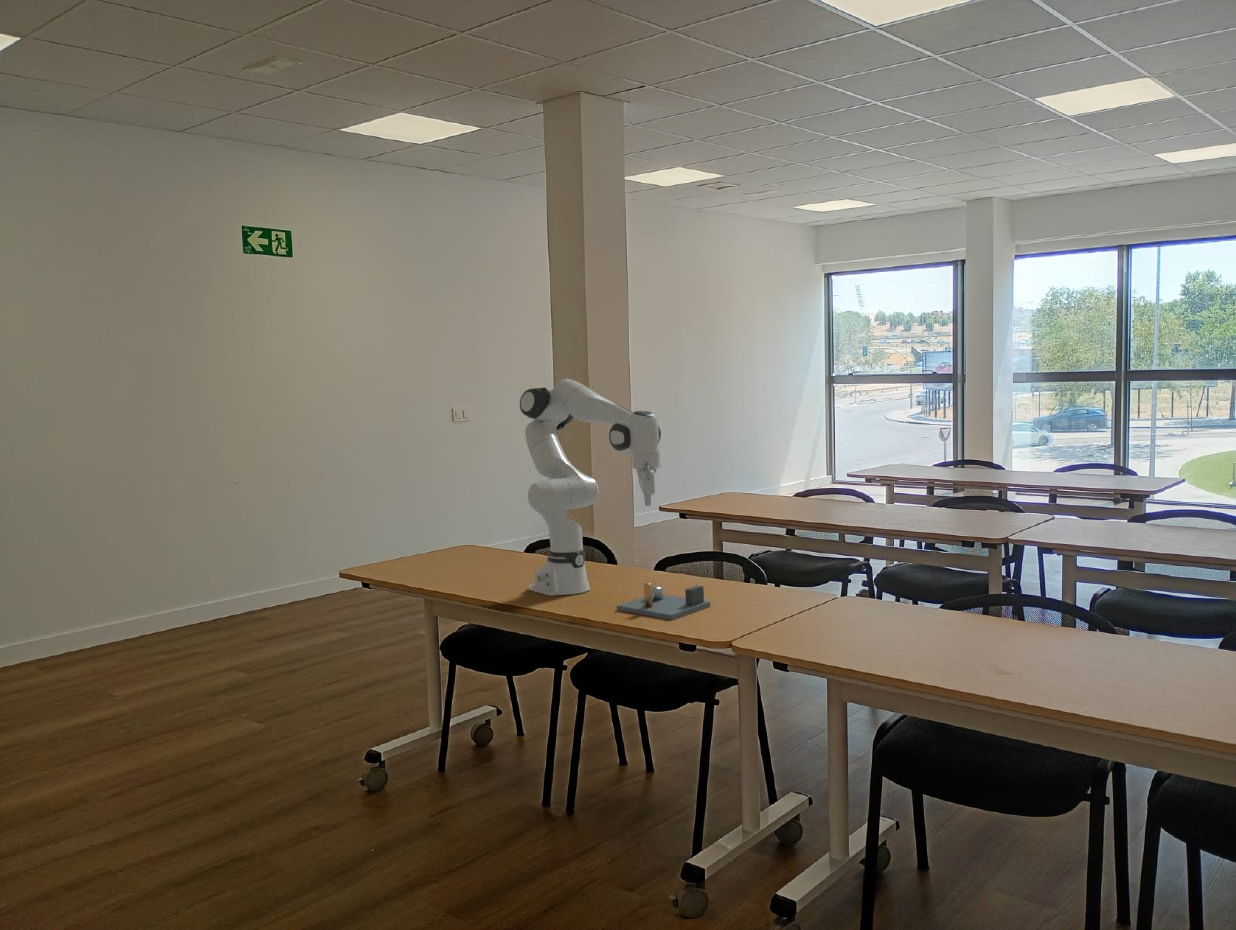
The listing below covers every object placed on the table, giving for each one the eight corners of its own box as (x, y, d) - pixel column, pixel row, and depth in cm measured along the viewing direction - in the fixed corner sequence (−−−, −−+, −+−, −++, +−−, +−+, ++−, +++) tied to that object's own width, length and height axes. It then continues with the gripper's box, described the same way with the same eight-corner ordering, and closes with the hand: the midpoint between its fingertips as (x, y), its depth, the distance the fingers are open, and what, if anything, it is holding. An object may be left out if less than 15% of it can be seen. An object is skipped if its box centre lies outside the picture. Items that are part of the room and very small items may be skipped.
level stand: (616, 610, 296) (615, 589, 296) (655, 597, 310) (655, 577, 310) (672, 619, 282) (671, 598, 281) (710, 606, 296) (709, 585, 295)
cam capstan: (649, 596, 305) (648, 574, 305) (665, 596, 304) (664, 574, 303) (639, 606, 292) (638, 584, 292) (655, 607, 291) (654, 584, 290)
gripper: (658, 465, 293) (660, 509, 294) (653, 458, 313) (655, 500, 314) (637, 466, 292) (639, 510, 294) (634, 459, 313) (636, 501, 314)
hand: (647, 505), depth 304 cm, fingers closed
